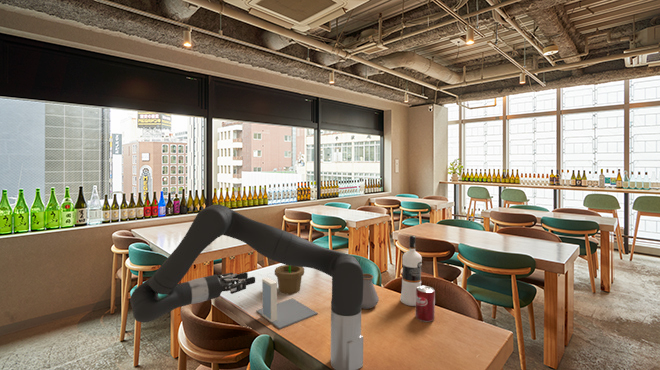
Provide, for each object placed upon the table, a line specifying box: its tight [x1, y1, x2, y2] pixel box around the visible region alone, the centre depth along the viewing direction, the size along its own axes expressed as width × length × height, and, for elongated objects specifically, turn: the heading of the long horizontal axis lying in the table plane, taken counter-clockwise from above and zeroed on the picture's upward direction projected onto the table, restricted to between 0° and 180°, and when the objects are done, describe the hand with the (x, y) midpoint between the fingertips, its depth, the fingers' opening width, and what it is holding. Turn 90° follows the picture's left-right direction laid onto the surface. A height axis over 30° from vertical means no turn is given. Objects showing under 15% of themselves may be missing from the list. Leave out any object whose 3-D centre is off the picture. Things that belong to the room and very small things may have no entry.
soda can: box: [414, 285, 436, 323], centre depth 124 cm, size 7×7×12 cm
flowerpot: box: [274, 234, 305, 295], centre depth 150 cm, size 14×14×30 cm
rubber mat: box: [256, 297, 318, 330], centre depth 128 cm, size 18×18×1 cm
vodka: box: [399, 235, 423, 307], centre depth 138 cm, size 9×9×30 cm
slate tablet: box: [261, 277, 278, 323], centre depth 122 cm, size 7×3×15 cm, turn 41°
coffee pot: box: [361, 273, 380, 310], centre depth 138 cm, size 21×12×15 cm, turn 58°
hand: (250, 277), depth 113 cm, fingers open, 5 cm apart
